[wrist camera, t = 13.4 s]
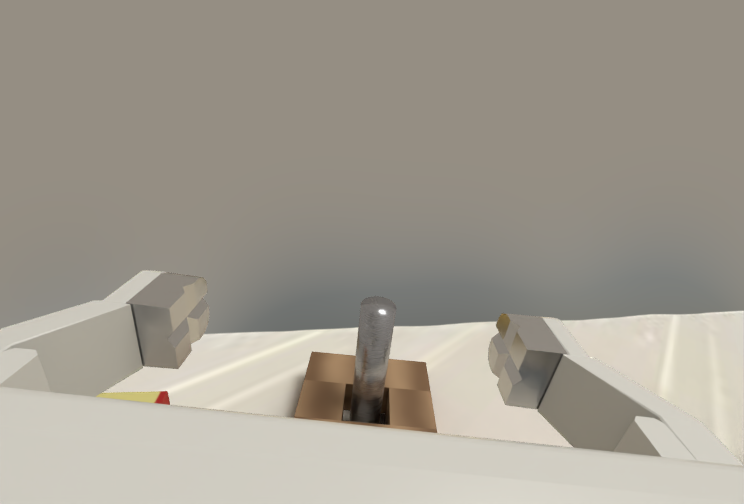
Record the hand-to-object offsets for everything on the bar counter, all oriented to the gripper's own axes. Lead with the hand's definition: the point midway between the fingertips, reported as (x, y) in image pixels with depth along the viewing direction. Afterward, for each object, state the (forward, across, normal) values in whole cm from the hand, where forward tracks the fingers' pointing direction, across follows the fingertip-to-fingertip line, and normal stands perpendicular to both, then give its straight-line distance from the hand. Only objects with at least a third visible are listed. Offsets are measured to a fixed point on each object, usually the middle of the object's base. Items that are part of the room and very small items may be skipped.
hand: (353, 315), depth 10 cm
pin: (+18, -3, +28) cm, 33 cm away
